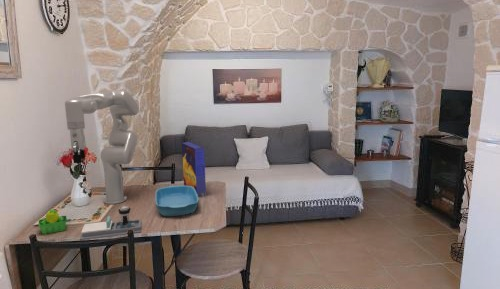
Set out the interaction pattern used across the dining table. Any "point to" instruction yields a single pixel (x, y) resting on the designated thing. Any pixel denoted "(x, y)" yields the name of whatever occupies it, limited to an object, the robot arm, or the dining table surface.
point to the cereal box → (194, 167)
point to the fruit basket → (52, 222)
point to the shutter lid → (97, 226)
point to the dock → (113, 230)
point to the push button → (125, 217)
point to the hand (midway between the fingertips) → (79, 160)
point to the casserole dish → (176, 200)
